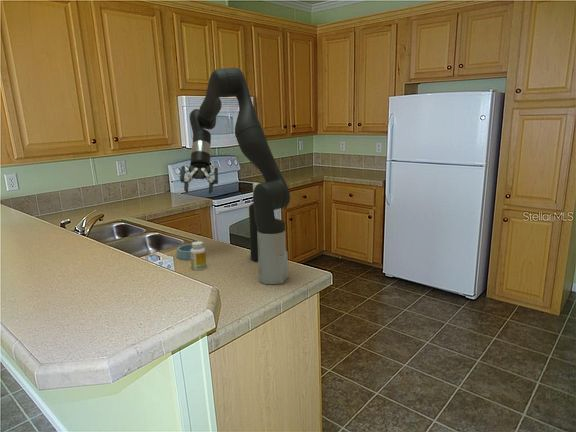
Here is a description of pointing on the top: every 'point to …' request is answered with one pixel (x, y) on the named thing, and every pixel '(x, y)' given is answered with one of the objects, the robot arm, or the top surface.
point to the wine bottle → (253, 232)
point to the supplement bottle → (198, 256)
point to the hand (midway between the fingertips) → (198, 192)
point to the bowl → (184, 252)
